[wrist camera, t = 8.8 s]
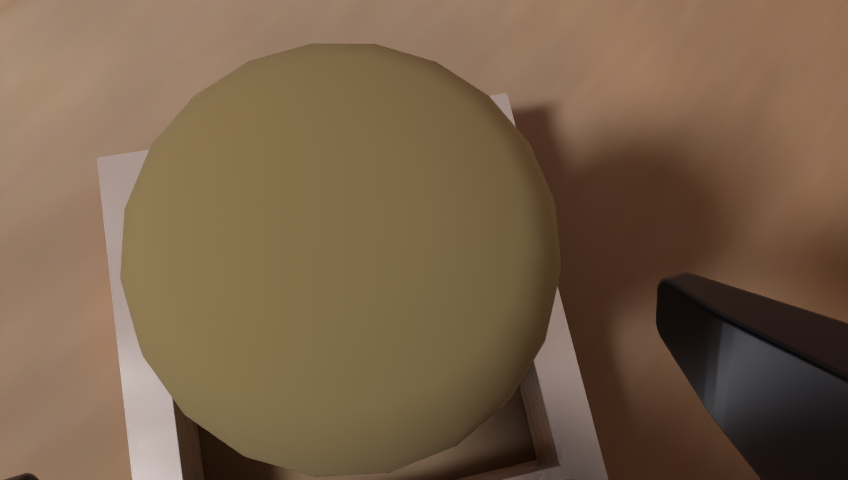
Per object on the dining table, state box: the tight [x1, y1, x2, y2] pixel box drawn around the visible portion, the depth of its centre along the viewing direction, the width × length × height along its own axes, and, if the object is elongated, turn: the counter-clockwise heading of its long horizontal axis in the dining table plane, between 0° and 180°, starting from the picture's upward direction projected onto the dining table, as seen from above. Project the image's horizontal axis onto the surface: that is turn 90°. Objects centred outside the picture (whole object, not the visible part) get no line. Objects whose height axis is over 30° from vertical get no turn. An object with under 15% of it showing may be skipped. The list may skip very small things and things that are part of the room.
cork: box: [120, 44, 562, 477], centre depth 12 cm, size 6×6×11 cm
